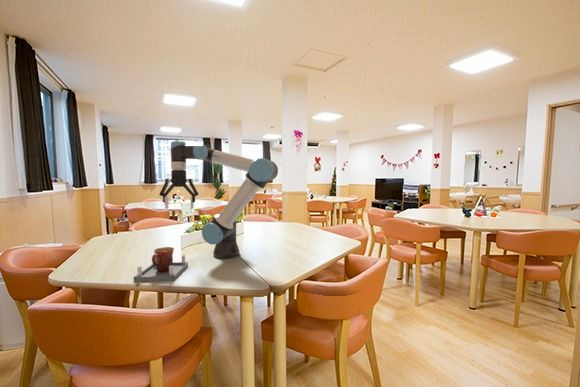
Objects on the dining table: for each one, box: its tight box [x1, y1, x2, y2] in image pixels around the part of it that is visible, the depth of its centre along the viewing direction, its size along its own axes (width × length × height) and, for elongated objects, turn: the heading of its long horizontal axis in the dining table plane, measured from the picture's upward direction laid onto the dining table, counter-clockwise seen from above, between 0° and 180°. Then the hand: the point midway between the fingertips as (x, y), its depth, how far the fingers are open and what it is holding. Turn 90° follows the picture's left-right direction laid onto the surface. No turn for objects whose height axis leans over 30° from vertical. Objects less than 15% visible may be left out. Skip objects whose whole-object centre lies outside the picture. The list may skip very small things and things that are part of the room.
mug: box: [151, 246, 175, 272], centre depth 125 cm, size 12×9×10 cm
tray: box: [133, 254, 189, 283], centre depth 125 cm, size 17×20×6 cm
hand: (179, 208), depth 144 cm, fingers open, 13 cm apart
